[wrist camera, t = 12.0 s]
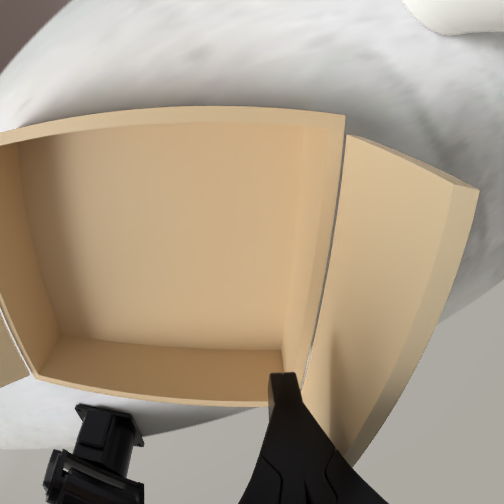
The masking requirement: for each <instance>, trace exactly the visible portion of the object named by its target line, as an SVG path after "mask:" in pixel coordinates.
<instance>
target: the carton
mask: <svg viewBox="0 0 504 504" xmlns="http://www.w3.org/2000/svg"><path fill="white" fill-rule="evenodd" d="M345 117H346V115H340V114H333V113H325V112H316V111H307V110H296V109H284V108H269V107H249V106H179V107H159V108H144V109H132V110H122V111H113V112H105V113H97V114H90V115H83V116H77V117H70V118H65V119H59V120H54V121H49V122H44V123H39V124H34V125H30V126H25V127H21V128H17V129H13V130H9V131H5V132H2V133H0V307H1V310H2V312H3V315H4V317H5V319H6V322H7V324H8V326H9V328H10V331H11V333H12V335H13V337H14V339H15V341H16V343H17V345H18V347H19V349H20V351H21V353H22V355H23V357H24V359H25V361H26V363H27V365H28V367H29V368H30V370H31V372H32V374H33V376H34V377H35V379H38V380H42V381H46V382H49V383H53V384H58V385H62V386H66V387H70V388H75V389H80V390H85V391H90V392H95V393H100V394H106V395H112V396H118V397H124V398H131V399H138V400H146V401H155V402H164V403H175V404H187V405H202V406H225V407H268V382H269V374H270V373H275V372H281V373H284V372H295V373H296V376H297V379H298V383H299V387H300V389H301V385H302V381H303V377H304V373H305V368H306V364H307V360H308V356H309V351H310V347H311V342H312V338H313V333H314V328H315V324H316V319H317V314H318V309H319V304H320V299H321V293H322V288H323V283H324V277H325V271H326V266H327V260H328V254H329V248H330V242H331V235H332V229H333V222H334V215H335V208H336V200H337V193H338V185H339V177H340V168H341V159H342V150H343V139H344V129H345Z"/></svg>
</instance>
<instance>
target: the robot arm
mask: <svg viewBox="0 0 504 504" xmlns="http://www.w3.org/2000/svg"><path fill="white" fill-rule="evenodd" d="M268 408H269V424H268V427H267V431H266V434H265V437H264V441H263V444H262V447H261V451H260V454H259V457H258V460H257V463H256V466H255V469H254V471H253V474H252V477H251V479H250V482H249V484H248V486H247V488H246V490H245V492H244V494H243V496H242V498H241V499H240V501H239V503H238V504H389V503H387V502H386V501H385V500H384V499H383V498H382V497H381V496H380V495H379V494H378V493H377V492H375V490H373V489H372V488H371V487H370V486H369V485H368V484H367V483H366V482H365V481H364V480H363V479H362V478H361V477H360V476H359V475H358V474H357V473H356V472H355V471H354V469H353V468H352V467H351V466H350V465H349V463H348V462H347V461H346V460H345V459H344V457H343V456H342V455H341V453H340V452H339V451H338V449H336V447H335V445H334V444H333V443H332V441H331V440H330V439H329V437H328V436H327V435H326V433H325V432H324V430H323V429H322V428H321V426H320V425H319V424H318V422H317V421H316V419H315V418H314V417H313V415H312V414H311V412H310V411H309V410H308V408H307V407H306V405H305V404H304V403H303V400H302V395H301V391H300V387H299V383H298V379H297V376H296V373H295V372H284V373H281V372H275V373H270V374H269V382H268ZM75 410H76V412H77V413H78V415H79V416H80V418H81V420H82V421H83V423H82V426H81V429H80V431H79V434H78V437H77V442H76V445H75V448H74V451H73V454H71V453H69V452H68V451H67V450H65V449H62V451H59V450H55V449H54V450H53V452H52V455H51V457H50V460H49V463H48V466H47V470H46V474H45V477H44V481H43V487H44V489H45V491H46V502H47V503H49V504H144V484H143V483H140V482H135V481H132V480H129V479H127V478H126V477H127V472H128V468H129V463H130V458H131V454H132V449H133V446H139V447H144V441H143V439H142V437H141V435H140V433H139V430H138V428H137V426H136V424H135V422H134V419H133V417H132V416H131V415H129V414H124V413H118V412H112V411H107V410H102V409H96V408H92V407H87V406H82V405H76V407H75ZM335 449H336V450H335ZM63 468H66V469H67V470H69V471H68V472H66V471H64V470H63Z"/></svg>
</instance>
